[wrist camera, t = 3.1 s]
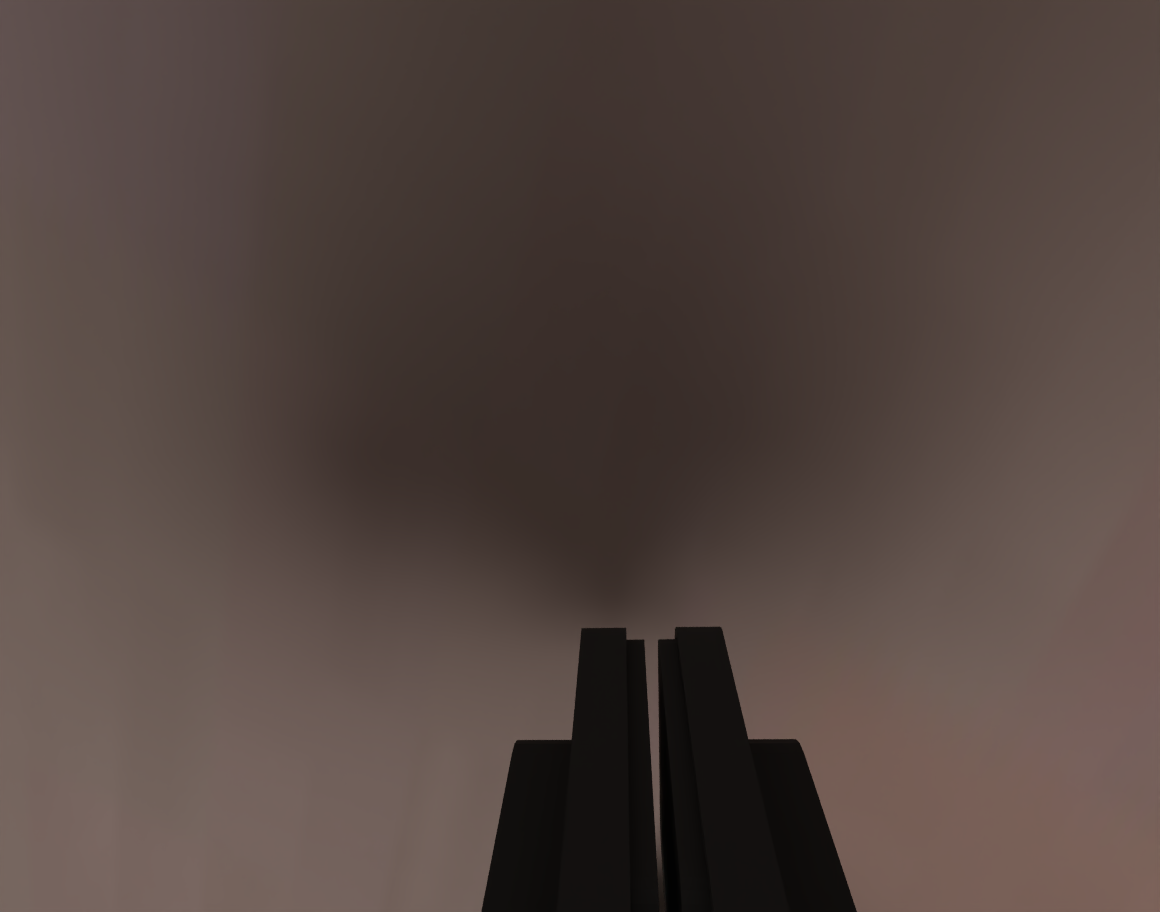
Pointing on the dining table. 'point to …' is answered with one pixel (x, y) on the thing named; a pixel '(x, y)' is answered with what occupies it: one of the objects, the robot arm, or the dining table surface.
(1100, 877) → the dining table surface
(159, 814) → the dining table surface
